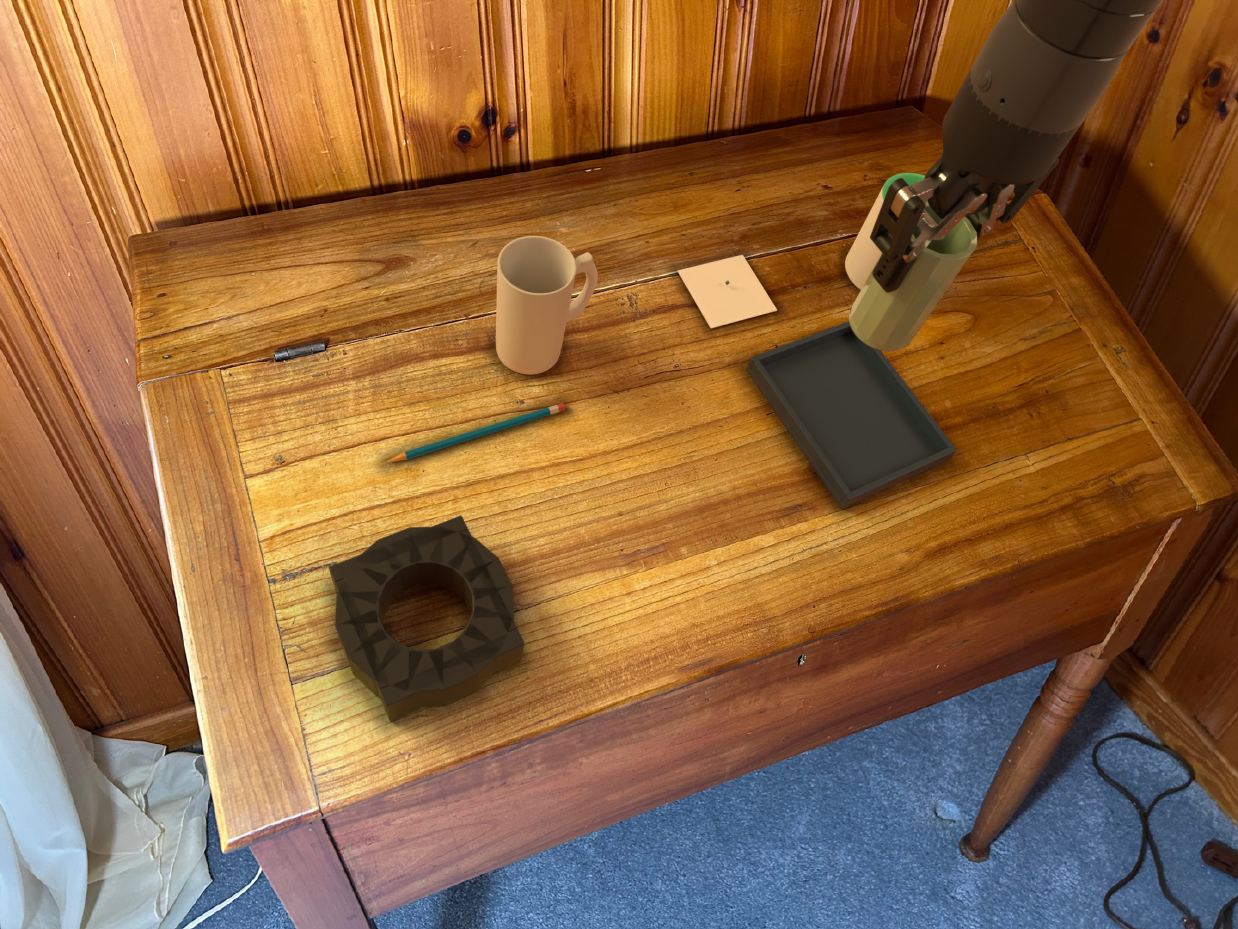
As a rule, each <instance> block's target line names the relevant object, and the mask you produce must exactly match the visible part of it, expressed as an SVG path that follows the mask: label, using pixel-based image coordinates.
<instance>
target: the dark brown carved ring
mask: <svg viewBox="0 0 1238 929" xmlns="http://www.w3.org/2000/svg"><path fill="white" fill-rule="evenodd" d="M466 523H467V522H466V521H465V519H464V518H463V516H462V515H458V516H456V517H453V518H451V519H447V520H446V521H443V522H440V523H437V524H435V525H433V526H411V527H410V526H409V527H407V528H405V529H401V530H398V531H397V532H394V533H391V534H388V535H386V536H383V537H381V538H378V539H377V540H375V541H374V542H373V543H372V544H371V545H370V546H369V547H368V548H367V549H365V550H364V551H363V552H362V553H361V554H358V555H356V556H353V557H350V558H348V559H345V560H342V561H340V562H337V563H335V564H333V565H330V566H329V567H328V571H329V574H330V578H331V580H332V585H333V588H334V591H335V593H336V594H335V595H336V598H335V612H334V613H335V614H334V615H335V617H334V627H335V630H336V633H337V636H338V639H339V642H340V644H341V648H342V650H343V653H344V655H345V657H346V661H347V663H348V665H349V667H350V670H351V673H352V675H353V676H354V677H355V678H356V679H357V680H358V681H360V683H361V684H363V685H364V686H365V687H366V688H367V689H368V690H369V691H370V692H371V693H372V694H373V695H374V696H376V698H378V699H380V702H381V704H382V706H383V709H384V711H385V714H386V716H387V719H388V721H389V723H392V722H395V721H397V720H399V719H401V718H404V717H406V716H408V715H411V714H412V713H414V712H417V711H419V710H420V709H424V708H425V709H426V708H441V707H443V708H444V707H447V706H450V705H451V704H454V703H455V702H458V701H461V700H462V699H464V698H466V697H470V695H473V694H476V693H477V692H478V691H479V690H481V688H482V687H483V686H484V684H486V683H487V682H488V680H490V678H491V677H492V676H494V675H497V674H498V673H501V672H503V671H506V670H508V669H510V668H511V667H512V668H513V667H514V666H516V665H518V664H521V663H522V660H523V655H524V649H525V641H524V639H523V637H522V635H521V633H520V631H519V629H518V627H517V624H516V623H515V607H514V606H515V605H514V604H515V603H514V587H513V584H512V582H511V580H510V577H509V576H508V574H507V572H506V569H505V568H504V566H503V564H502V562H501V560H500V558H499V557H498V556H497V555H496V554H495V553H493V552H492V551H491V550H490V549H489V548H488V547H486V545H484V544H483V543H482V542H480V540H478V539H477V538H476V537H475V536H473V535H472V533H471V531H470V529H469V528H468V526H467V524H466ZM431 585H432V586H433V585H437V586H440V587H443V588H446V589H449V590H452V591H453V592H454V593H456V595H458V596H459V597H460V598H461V599H462V600H463V601H464V602H465V604H466V607H467V608H468V611H469V614H471V615H470V617H469V620H468V622H467V624H466V627H465V629H464V630H463V631H461V632H460V634H459V635H458V636H456V638H455V639H453V641H451V642H448V643H446V644H444V645H441V646H439V647H436V648H429V649H428V648H427V649H416V648H413V647H409V646H406V645H403V644H402V643H399V642H397V640H395V639H394V638H393V637H392V636H391V635H390V634H389V633H388V632H386V630H385V627H384V618H385V616H386V614H387V611H388V609H389V607H390V605H391V604H392V603H393V602H394V601H395V600H396V599H397V598H398V597H399V596H400V595H401V594H402V593H404V592H406V591H408V590H410V589H413V588H415V587H418V586H431Z"/></svg>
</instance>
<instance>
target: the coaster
mask: <svg viewBox="0 0 1238 929" xmlns="http://www.w3.org/2000/svg"><path fill="white" fill-rule="evenodd" d="M677 273H678V274H679V276H680V278H681V280H682V281H683V284H684V285H685V287H686V289H687V291H688V292H689V294H690V295H691V297H692V299H693V300H694V303H695V304H696V305H697V307H698V310H699V311H700V312H701V314H702V316H703V318H704V319H705V321H706V323H707V324H708V326H709V328H710V329H714V328H718V327H721V326H724V325H728V324H729V325H730V324H732V323H736V322H739V321H743V320H747V319H751V318H755V317H758V316H761V315H765V314H769V313H773V312H777V311H778V309H777V307H776V306H775V304H774V302H773V301H772V300H771V298H770V296H769V295H768V293H767V291H766V289H765V287H763V285H762V283H761V282H760V280H759V278H758V277H757V276H756V274H755V272H754V271H753V269H752V268H751V266H750V264H749V262H748V261H747V259H746V258H745V256H744V255H743V254H740V255H735V256H731V257H727V258H724V259H719V260H714V261H710V262H706V263H703V264H699V265H698V264H697V265H694V266H691V267H687V268H682V269H678V270H677Z"/></svg>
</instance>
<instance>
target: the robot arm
mask: <svg viewBox="0 0 1238 929" xmlns="http://www.w3.org/2000/svg"><path fill="white" fill-rule="evenodd" d="M1163 2H1164V0H1011V3H1010V4H1009V6H1008V7H1007V9H1006V10H1005V11H1004V13H1003V14H1002V15H1001V17H999V19H998V20H997V22H996V23H995V25H994V27H993V28H992V30H991V31H990V33H989V35H988V37H987V38H986V41H985V42H984V44H983V45H982V47H981V49H980V51H979V53H978V55H977V57H976V59H975V61H973V64H972V66H971V68H970V69H969V72H968V73H967V75H966V77H965V78H964V80H963V82H962V84H961V86H960V88H959V89H958V91H957V93H956V95H955V97H954V99H953V100H952V102H951V104H950V106H949V107H948V109H947V111H946V113H945V115H944V117H943V119H942V124H941V138H942V154H941V155H940V157H939V158H938V159H937V160H936V162H934V164H933V165H932V166H931V167H930V168H929V169H928V171H927V172H926V173H925V175H924V176H925V179H924V180H922V181H920V182H917V183H915V184H913V185H911V186H909V185H908V184H907V182H906V181H905V180H904V179H903V178H899V179H897V180H895V181H894V182H893V183H892V184H891V185H890V186H889V188H888V191H887V193H886V196H885V199H884V201H883V204H882V206H881V209H880V212H879V214H878V217H877V220H876V222H875V225H874V227H873V230H872V233H871V235H870V239H871V240H872V241H873V243H874V244H875V245H876V246H877V247H878V249H879V250H880V251H881V252H882V256H881V258H880V259H879V261H878V263H877V265H876V266H875V268H874V270H873V273H872V275H873V276H874V278H875V280H876V281H877V282H878V283H879V285H880V286H881V287H882V288H883V290H884V291H885V292H887V293H890V292H892V291H895V290H897V289H898V288H899V286H900V284H901V283H902V281H903V279H904V278H905V276H906V275H907V273H908V271H909V270H910V268H911V267H912V265H913V263H914V262H915V260H916V259H915V258H916V257H917V256H918V255H919V254H920V253H921V252H922V251H923V250H924V249H925V248H926V247H927V246H928V245H929V244H930V243H931V242H932V241H933V240H938V241H939V240H942V239H943V238H944V237H945V236H946V235H947V234H948V233H949V232H950V231H951V230H952V229H953V228H954V227H955V226H956V225H957V224H958V223H959V222H960V221H961V220H962V219H963V218H964V217H966V218H967V219H969V220H970V222H971V224H972V225H973V227H974V229H975V230H976V232H977V242H978V241H979V239H980V238H981V237H984V236H986V235H988V234H989V233H991V232H992V230H993V229H994V228H995V225H996V222H1001V224H1003V225H1004V224H1007V223H1009V222H1011V221H1012V220H1013V219H1014V217H1015V216H1016V215H1017V214H1018V213H1019V212H1020V210H1022V208H1023V207H1024V205H1026V203H1027V202H1028V201H1029V200H1030V199H1031V197H1032V196H1033V195H1034V193H1035V192H1036V191H1037V190H1038V189H1039V187H1040V186H1041V185H1042V184H1043V183H1044V181H1045V180H1046V179H1047V177H1049V175H1050V174H1051V173H1052V172H1053V170H1055V168H1056V167H1057V165H1059V162H1060V159H1059V157H1060V155H1061V153H1062V152H1063V151H1064V149H1065V148H1066V147H1067V145H1068V144H1069V143H1070V142H1071V140H1072V138H1073V136H1074V135H1075V134H1076V133H1077V131H1078V130H1079V128H1080V127H1081V126H1082V124H1083V123H1084V122H1085V120H1086V118H1087V116H1089V114H1090V113H1091V111H1092V110H1093V109H1094V107H1095V106H1096V105H1097V103H1098V101H1099V100H1100V98H1102V96H1103V95H1104V93H1105V92H1106V90H1107V89H1108V87H1109V86H1110V84H1111V83H1112V81H1113V79H1114V78H1115V76H1116V74H1117V72H1118V70H1119V68H1120V66H1121V64H1122V63H1123V60H1124V58H1125V56H1126V55H1127V53H1128V52H1129V51H1130V49H1131V47H1132V46H1133V44H1134V43H1135V42H1136V41H1137V39H1138V37H1139V36H1140V34H1141V33H1142V32H1143V30H1144V29H1145V28H1146V26H1147V24H1148V23H1149V22H1150V21H1151V19H1152V18H1153V16H1154V15H1155V13H1157V11H1158V10H1159V7H1160V6H1161V5H1162V3H1163ZM1013 194H1014V196H1013V198H1012V199H1011V200H1010V202H1009V203H1008V200H1009V197H1011V196H1012V195H1013ZM927 200H928V204H929V206H930V207H931V208H932V210H933V211H934V212H935V213H936V214H937V215H938V216H939V217H940V218H941V219H943V220H942V221H941V222H940V223H939V224H938V225H937V223H936V222H935V221H934V220H933V219H932V218H931V216H930V215H929V214H928V213H927V212H926V211H925V203H926V201H927ZM916 226H917V227H918V228H919V229H920V231H921V234H920V236H919V237H918V238H917V239H916V240H915V241H914V242H912V241H911V237H912V235H913V233H914V231H915V228H916Z"/></svg>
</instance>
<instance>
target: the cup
mask: <svg viewBox="0 0 1238 929" xmlns="http://www.w3.org/2000/svg"><path fill="white" fill-rule="evenodd" d="M925 211H926V212H927V213H928V214H929V215H930V216H931V218H932V219H933V220H934V221H935V222H936V223H937V225H938V224H939V223H940V222H941V221H942V220H943V219H941V218H940V217H939V216H938V215H937V214H936V213H935V212H934V211H933V210H932V208H931V207H930V206H929V204H928V202H926V203H925ZM920 234H921V231H920V229H919V228H918V227H917V226H916V228H915V231H914V233H913V235H912V237H911V241H912V242H914V241H915V240H916V239H917V238H918V237H919V236H920ZM977 247H978V241H977V232H976V230H975V229H974V227H973V225H972V224H971V222H970V220H969V219H967V218H966V217H964V218H963V219H962V220H961V221H960V222H959V223H958V224H957V225H956V226H955V227H954V228H953V229H952V230H951V231H950V232H949V233H948V234H947V235H946V236H945V237H944V238H943V239H942V240H939V241H938V240H933V241H932V242H931V243H930V244H929V245H928V246H927V247H926V248H925V249H924V250H923V251H922V252H921V253H920V254H919V255H918V256H917V257H916V258H915V259H916V260H915V262H914V263H913V265H912V267H911V268H910V270H909V271H908V273H907V275H906V276H905V278H904V279H903V281H902V283H901V284H900V286H899V288H898V289H897V290H895V291H892V292H890V293H887V292H885V291H884V290H883V288H882V287H881V286H880V285H879V283H878V282H877V281H876V280H875V278H874V276H873V275H872V273H873V270H874V268H875V266H876V265H877V263H878V261H879V259H880V258H881V256H882V254H881V255H880V257H879V259H878V261H877V263H876V264H875V266H874V268H873V270H872V271H871V273H870V275H869V277H868V279H867V280H866V282H865V284H864V286H863V287H862V289H861V290H860V291H859V293H858V294H857V297H856V298H855V300H854V302H853V303H852V306H851V308H850V310H849V315H848V321H849V322H850V326H851V328H852V330H853V332H854V333H855V335H856V336H857V337H858V338H859V339H860V340H861V341H862V342H864V343H865V344H867V345H868V346H870V347H872V348H875V349H877V350H881V352H897V351H901V350H903V349H906V348H907V347H909V345H910V344H911V343H912V341H913V340H914V339H915V337H916V336H917V334H918V333H919V331H920V330H921V328H922V327H923V325H924V324H925V323H926V321H927V320H928V318H929V316H930V315H931V314H932V312H933V311H934V309H935V308H936V307H937V305H938V304H939V302H940V301H941V299H942V298H943V297H944V295H945V293H946V292H947V291H948V289H949V287H950V286H951V285H952V283H953V282H954V280H955V279H956V278H957V276H958V274H959V273H960V271H961V270H962V269H963V267H964V266H965V265H966V263H967V261H968V260H969V258H970V257H971V255H973V253H974V251H975V250H976V248H977Z"/></svg>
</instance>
